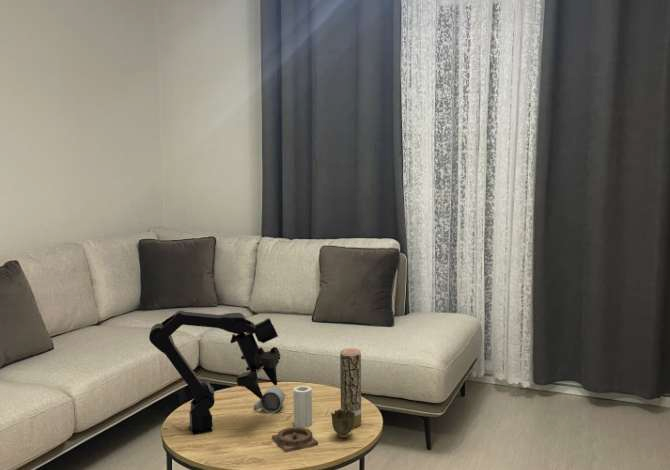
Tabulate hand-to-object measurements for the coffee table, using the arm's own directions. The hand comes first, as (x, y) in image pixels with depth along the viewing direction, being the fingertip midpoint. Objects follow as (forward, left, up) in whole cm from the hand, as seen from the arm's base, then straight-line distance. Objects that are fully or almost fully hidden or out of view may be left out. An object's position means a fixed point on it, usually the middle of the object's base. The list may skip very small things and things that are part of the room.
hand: (268, 391), depth 224 cm
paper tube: (+24, -12, -12) cm, 30 cm away
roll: (+10, -4, -12) cm, 16 cm away
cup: (+17, -20, -12) cm, 29 cm away
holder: (+2, -16, -12) cm, 20 cm away
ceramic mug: (+5, +14, -12) cm, 19 cm away
